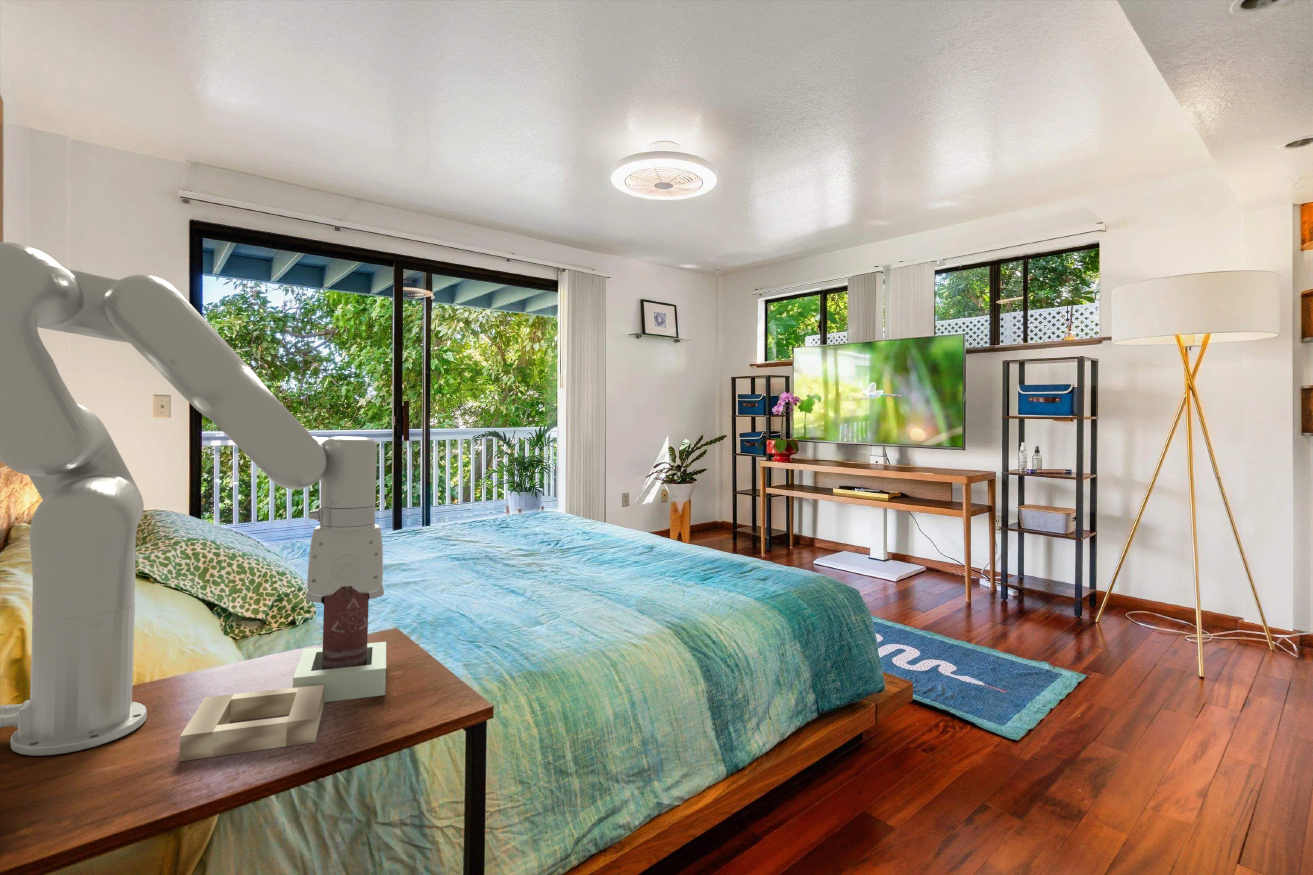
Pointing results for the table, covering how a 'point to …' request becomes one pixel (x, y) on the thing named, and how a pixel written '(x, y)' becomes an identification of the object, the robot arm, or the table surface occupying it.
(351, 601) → the can
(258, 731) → the socket block
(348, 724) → the table surface
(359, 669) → the pale green square frame
